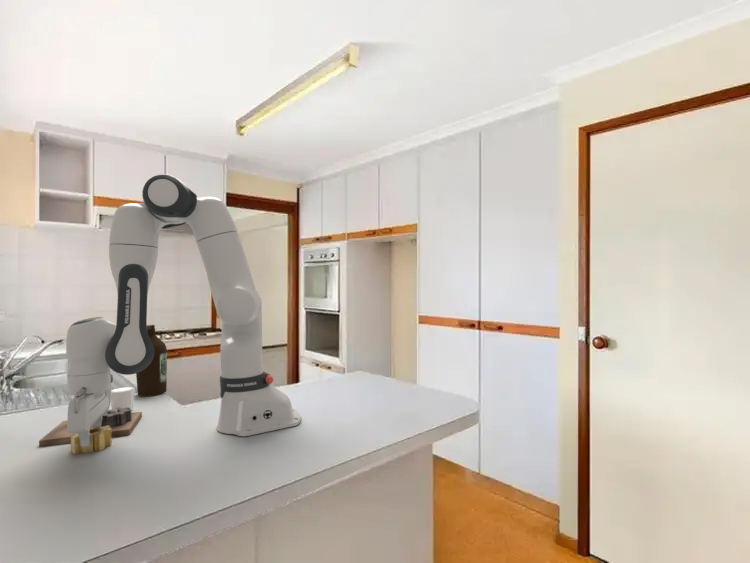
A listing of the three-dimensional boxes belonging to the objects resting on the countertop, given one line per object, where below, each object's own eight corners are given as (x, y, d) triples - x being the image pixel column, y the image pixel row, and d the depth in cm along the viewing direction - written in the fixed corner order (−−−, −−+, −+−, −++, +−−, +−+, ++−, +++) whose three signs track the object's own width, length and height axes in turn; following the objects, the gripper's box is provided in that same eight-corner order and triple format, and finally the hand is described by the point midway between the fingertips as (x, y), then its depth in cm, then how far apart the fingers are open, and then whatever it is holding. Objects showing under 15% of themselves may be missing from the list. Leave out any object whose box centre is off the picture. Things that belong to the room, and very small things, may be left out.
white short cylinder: (123, 415, 129) (122, 392, 129) (104, 414, 130) (103, 391, 130) (140, 408, 135) (139, 386, 135) (122, 407, 137) (121, 386, 137)
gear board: (141, 416, 126) (141, 400, 126) (129, 434, 111) (129, 416, 111) (63, 426, 120) (62, 408, 120) (39, 446, 105) (38, 426, 105)
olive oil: (131, 398, 147) (128, 327, 147) (141, 390, 158) (138, 324, 158) (164, 395, 150) (161, 325, 150) (171, 388, 160) (169, 323, 160)
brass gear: (115, 439, 108) (114, 424, 108) (107, 449, 102) (107, 433, 102) (76, 445, 105) (76, 429, 105) (66, 455, 99) (66, 438, 99)
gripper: (90, 392, 94) (92, 453, 95) (114, 374, 114) (116, 424, 114) (57, 395, 92) (59, 458, 93) (87, 376, 112) (89, 428, 112)
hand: (91, 439), depth 103 cm, fingers closed on brass gear, 6 cm apart
